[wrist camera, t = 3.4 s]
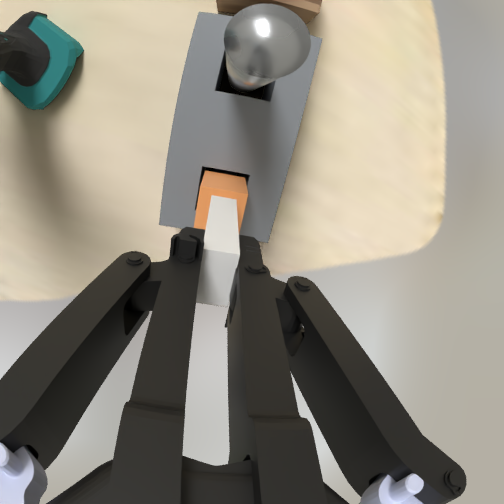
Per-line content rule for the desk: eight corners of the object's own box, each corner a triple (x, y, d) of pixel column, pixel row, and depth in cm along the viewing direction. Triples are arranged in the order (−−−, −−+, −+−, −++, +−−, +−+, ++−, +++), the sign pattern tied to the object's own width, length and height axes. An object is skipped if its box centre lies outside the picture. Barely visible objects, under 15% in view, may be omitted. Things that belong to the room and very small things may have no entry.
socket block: (173, 196, 29) (159, 224, 23) (206, 32, 21) (198, 11, 15) (259, 211, 30) (267, 242, 24) (300, 51, 22) (322, 38, 16)
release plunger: (203, 191, 26) (193, 229, 19) (209, 159, 24) (200, 185, 18) (235, 197, 26) (238, 237, 19) (242, 166, 25) (248, 194, 18)
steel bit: (225, 89, 24) (215, 69, 8) (232, 60, 23) (235, -4, 7) (256, 95, 25) (300, 88, 9) (263, 66, 23) (318, 16, 8)
